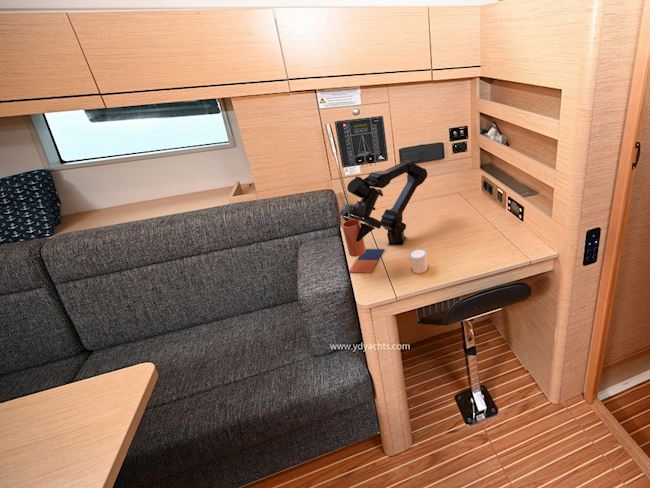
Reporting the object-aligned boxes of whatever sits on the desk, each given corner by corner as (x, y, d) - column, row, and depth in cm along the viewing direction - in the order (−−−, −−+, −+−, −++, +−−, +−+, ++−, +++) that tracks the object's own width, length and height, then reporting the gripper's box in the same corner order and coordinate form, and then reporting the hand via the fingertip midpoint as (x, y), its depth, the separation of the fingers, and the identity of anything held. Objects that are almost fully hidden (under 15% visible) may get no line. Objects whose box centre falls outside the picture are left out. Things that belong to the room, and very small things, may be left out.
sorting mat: (384, 249, 145) (383, 249, 145) (371, 272, 130) (370, 272, 130) (364, 249, 146) (364, 249, 146) (349, 272, 132) (349, 271, 131)
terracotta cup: (354, 247, 136) (348, 218, 131) (368, 248, 134) (362, 219, 129) (346, 256, 130) (338, 227, 125) (360, 257, 128) (353, 227, 123)
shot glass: (421, 261, 134) (419, 246, 132) (432, 267, 130) (430, 252, 127) (407, 269, 130) (405, 254, 127) (419, 276, 125) (416, 260, 123)
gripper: (338, 190, 131) (320, 227, 128) (370, 198, 121) (352, 239, 117) (357, 200, 140) (342, 235, 136) (389, 209, 130) (373, 247, 126)
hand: (351, 239), depth 129 cm, fingers closed on terracotta cup, 6 cm apart
